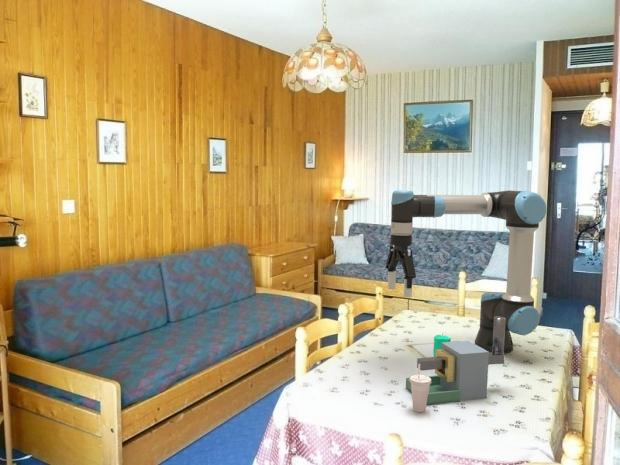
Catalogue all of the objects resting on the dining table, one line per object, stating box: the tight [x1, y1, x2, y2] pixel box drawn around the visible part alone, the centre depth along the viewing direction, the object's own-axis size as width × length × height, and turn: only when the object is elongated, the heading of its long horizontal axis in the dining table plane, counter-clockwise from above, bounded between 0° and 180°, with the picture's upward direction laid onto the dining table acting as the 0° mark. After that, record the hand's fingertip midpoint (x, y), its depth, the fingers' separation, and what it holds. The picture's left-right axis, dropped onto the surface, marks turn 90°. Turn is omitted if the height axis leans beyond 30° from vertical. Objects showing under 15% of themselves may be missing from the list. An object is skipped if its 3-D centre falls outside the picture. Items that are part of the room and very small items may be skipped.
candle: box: [432, 332, 452, 357], centre depth 203 cm, size 6×6×12 cm
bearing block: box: [440, 340, 489, 401], centre depth 178 cm, size 10×12×15 cm
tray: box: [405, 374, 461, 406], centre depth 175 cm, size 12×14×4 cm
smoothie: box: [409, 364, 431, 413], centre depth 164 cm, size 6×6×14 cm
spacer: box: [434, 349, 455, 382], centre depth 176 cm, size 2×8×8 cm, turn 15°
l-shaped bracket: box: [416, 316, 506, 372], centre depth 176 cm, size 30×4×15 cm, turn 105°
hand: (399, 293), depth 196 cm, fingers open, 13 cm apart
